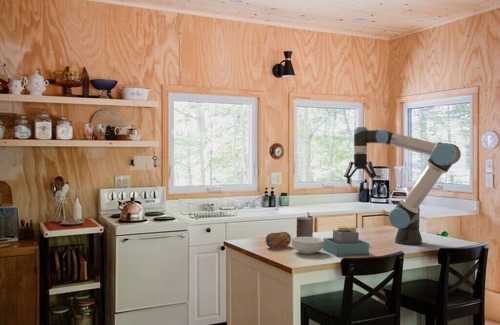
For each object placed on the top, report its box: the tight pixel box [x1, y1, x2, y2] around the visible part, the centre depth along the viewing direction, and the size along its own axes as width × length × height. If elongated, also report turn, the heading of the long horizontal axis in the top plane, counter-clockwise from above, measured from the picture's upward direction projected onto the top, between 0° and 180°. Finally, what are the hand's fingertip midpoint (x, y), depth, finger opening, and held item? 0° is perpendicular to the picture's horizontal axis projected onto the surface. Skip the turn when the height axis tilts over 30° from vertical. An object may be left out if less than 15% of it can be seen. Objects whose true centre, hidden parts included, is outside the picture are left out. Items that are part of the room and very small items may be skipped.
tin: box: [265, 231, 292, 249], centre depth 268 cm, size 15×3×8 cm, turn 117°
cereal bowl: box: [291, 236, 324, 255], centre depth 254 cm, size 17×17×7 cm
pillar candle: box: [296, 215, 314, 237], centre depth 287 cm, size 10×10×15 cm
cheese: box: [337, 225, 357, 232], centre depth 279 cm, size 10×11×10 cm
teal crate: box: [322, 237, 370, 257], centre depth 256 cm, size 18×18×6 cm
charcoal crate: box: [332, 229, 360, 244], centre depth 256 cm, size 10×10×10 cm
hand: (360, 189), depth 286 cm, fingers open, 13 cm apart
